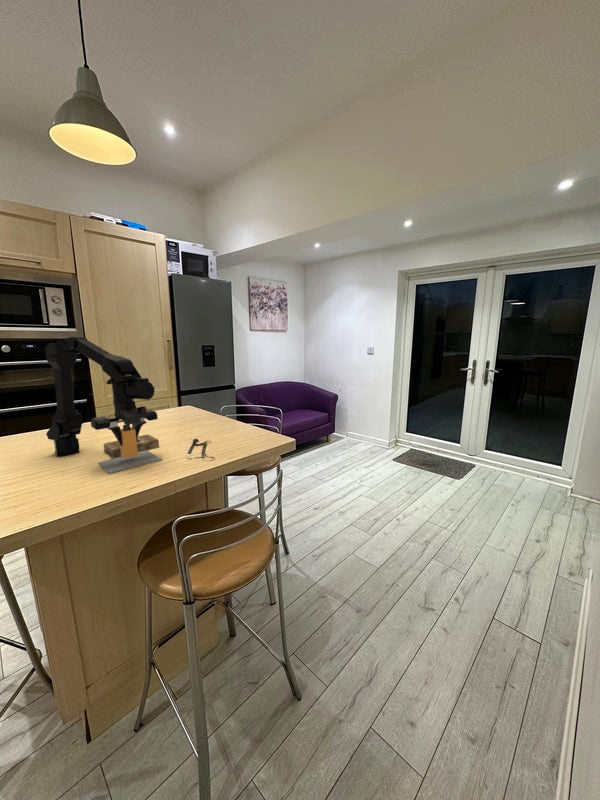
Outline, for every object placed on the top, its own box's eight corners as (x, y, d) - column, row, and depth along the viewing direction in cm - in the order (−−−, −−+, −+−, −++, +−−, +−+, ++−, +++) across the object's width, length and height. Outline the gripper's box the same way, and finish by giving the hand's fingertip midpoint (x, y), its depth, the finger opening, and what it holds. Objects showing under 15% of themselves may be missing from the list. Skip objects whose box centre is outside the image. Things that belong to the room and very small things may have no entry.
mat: (109, 474, 99) (109, 472, 99) (98, 463, 107) (98, 462, 107) (161, 460, 110) (161, 458, 110) (147, 451, 118) (147, 450, 118)
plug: (125, 458, 106) (121, 427, 103) (121, 455, 108) (117, 425, 106) (138, 455, 108) (134, 425, 106) (133, 452, 111) (130, 422, 109)
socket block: (113, 458, 112) (112, 449, 111) (104, 451, 119) (103, 442, 118) (159, 447, 123) (158, 438, 123) (148, 441, 130) (148, 433, 130)
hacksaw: (193, 441, 131) (193, 438, 131) (219, 440, 133) (219, 436, 133) (182, 464, 108) (182, 459, 107) (214, 461, 110) (214, 457, 109)
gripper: (97, 405, 92) (104, 457, 95) (162, 397, 106) (166, 442, 109) (87, 400, 100) (93, 448, 103) (149, 393, 113) (153, 435, 116)
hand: (128, 443), depth 108 cm, fingers closed on plug, 4 cm apart
